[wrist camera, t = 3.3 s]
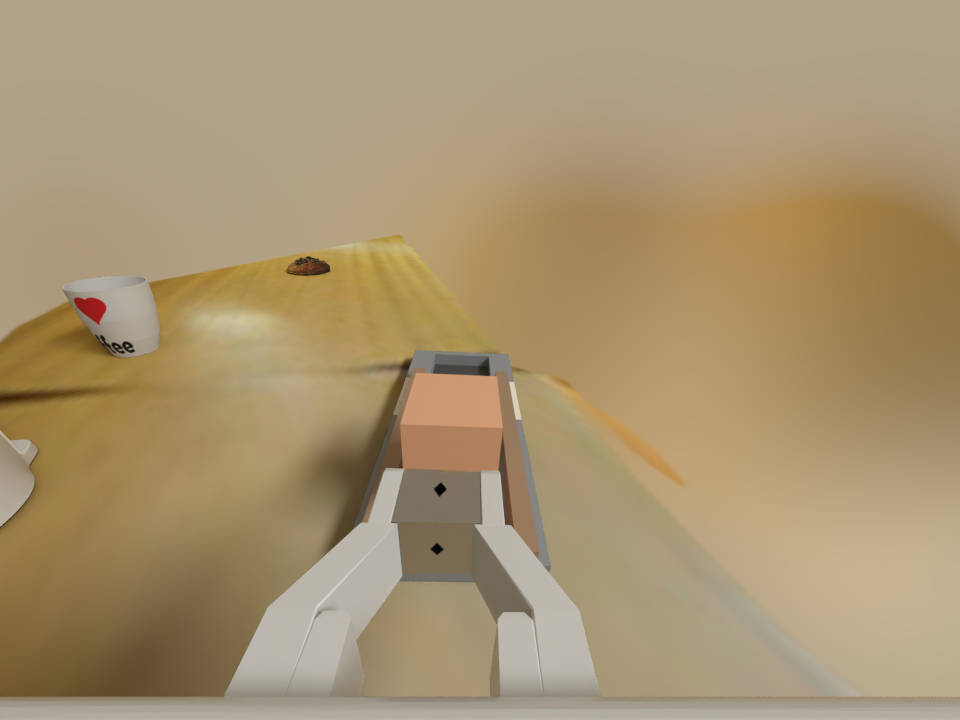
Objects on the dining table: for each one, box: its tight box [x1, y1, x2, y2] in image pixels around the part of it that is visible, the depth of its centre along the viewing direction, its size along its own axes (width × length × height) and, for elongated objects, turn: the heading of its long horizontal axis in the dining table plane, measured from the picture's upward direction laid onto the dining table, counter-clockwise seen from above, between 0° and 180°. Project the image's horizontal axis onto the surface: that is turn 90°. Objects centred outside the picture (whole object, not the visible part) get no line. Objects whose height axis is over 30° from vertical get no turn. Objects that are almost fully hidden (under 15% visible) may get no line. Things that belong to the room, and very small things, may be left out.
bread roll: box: [287, 256, 330, 275], centre depth 95 cm, size 11×11×5 cm
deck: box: [352, 350, 551, 582], centre depth 37 cm, size 14×32×4 cm, turn 1°
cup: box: [62, 276, 160, 358], centre depth 48 cm, size 8×8×10 cm
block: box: [400, 373, 503, 470], centre depth 25 cm, size 6×6×10 cm
